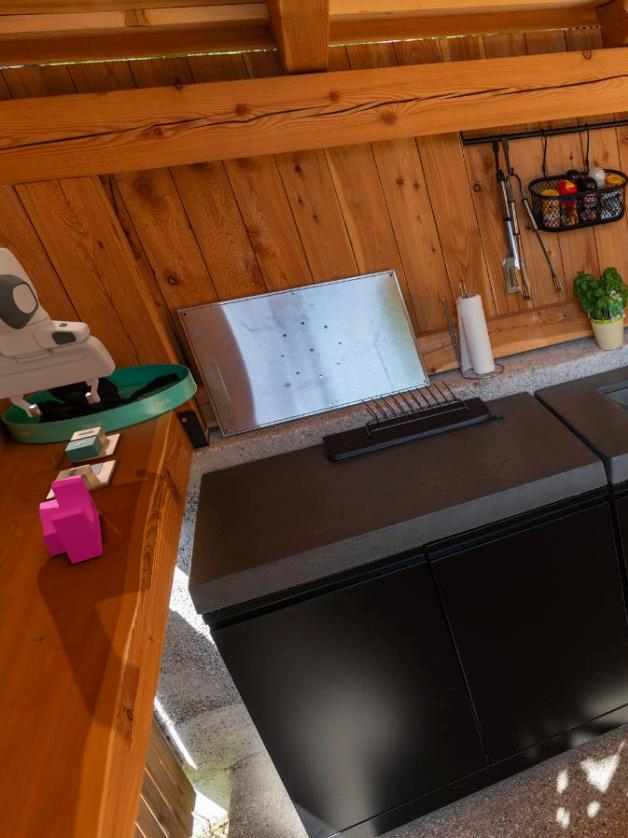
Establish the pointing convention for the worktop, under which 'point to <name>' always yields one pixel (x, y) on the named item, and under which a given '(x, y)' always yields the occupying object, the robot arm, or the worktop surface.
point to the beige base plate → (89, 475)
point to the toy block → (71, 521)
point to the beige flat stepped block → (106, 442)
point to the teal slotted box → (83, 449)
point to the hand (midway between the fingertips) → (65, 408)
